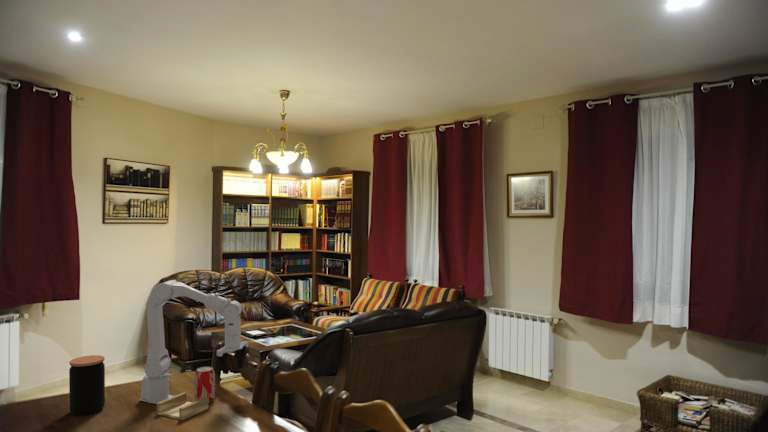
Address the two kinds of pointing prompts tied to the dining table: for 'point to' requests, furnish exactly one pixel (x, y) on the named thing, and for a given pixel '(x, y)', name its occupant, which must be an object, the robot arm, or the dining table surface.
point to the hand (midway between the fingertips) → (233, 370)
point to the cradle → (181, 407)
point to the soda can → (205, 383)
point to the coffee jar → (87, 385)
